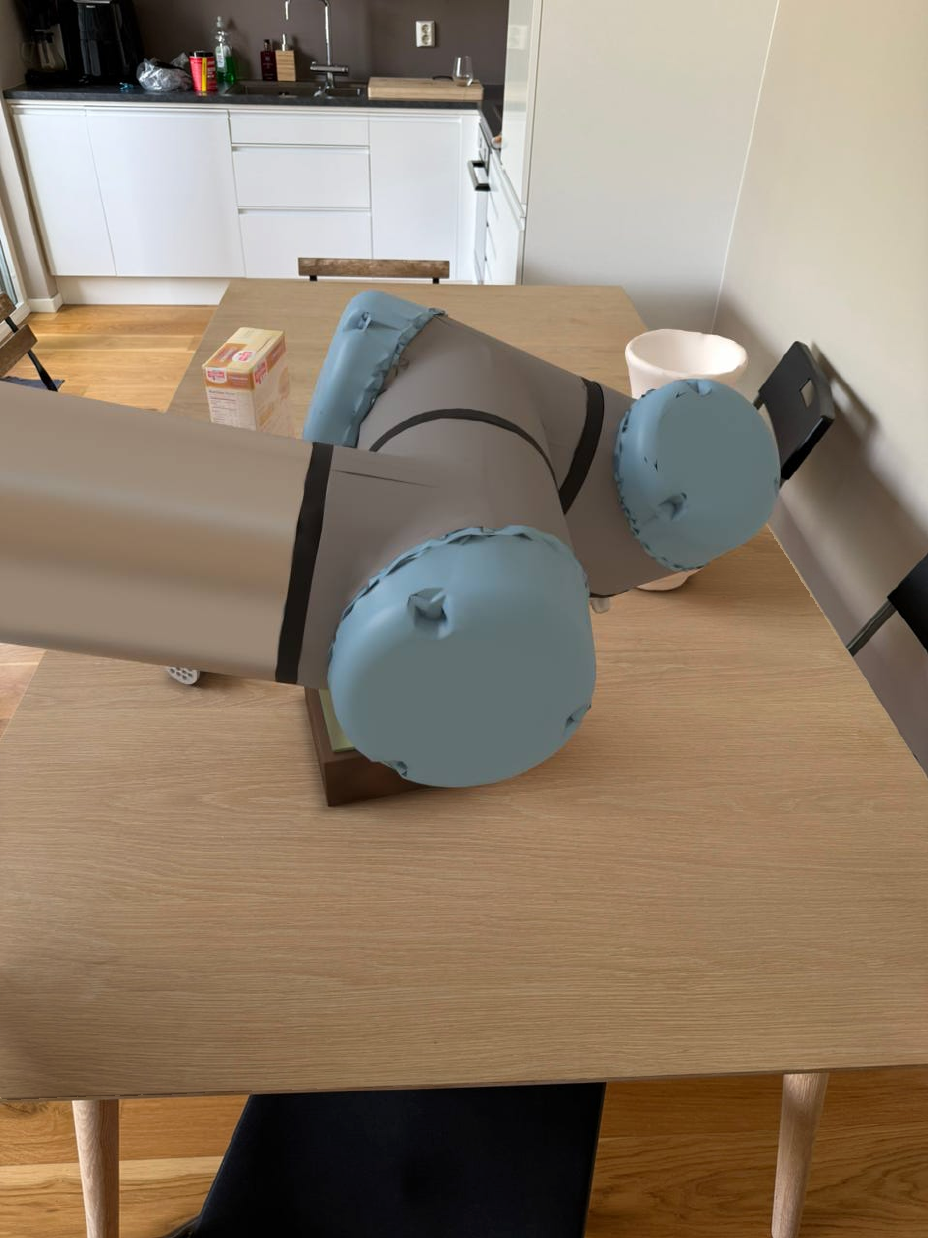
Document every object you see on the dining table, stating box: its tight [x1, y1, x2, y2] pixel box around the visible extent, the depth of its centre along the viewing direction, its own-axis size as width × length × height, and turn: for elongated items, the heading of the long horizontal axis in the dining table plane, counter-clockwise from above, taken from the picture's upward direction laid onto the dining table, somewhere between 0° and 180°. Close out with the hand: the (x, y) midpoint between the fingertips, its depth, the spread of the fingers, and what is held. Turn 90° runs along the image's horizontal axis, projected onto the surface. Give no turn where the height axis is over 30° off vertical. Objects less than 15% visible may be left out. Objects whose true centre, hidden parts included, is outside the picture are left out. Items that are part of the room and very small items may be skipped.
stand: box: [303, 686, 432, 807], centre depth 89 cm, size 15×15×6 cm
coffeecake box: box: [201, 326, 296, 439], centre depth 129 cm, size 15×7×20 cm, turn 171°
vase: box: [624, 328, 749, 591], centre depth 108 cm, size 19×21×30 cm
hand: (435, 613), depth 70 cm, fingers open, 13 cm apart
